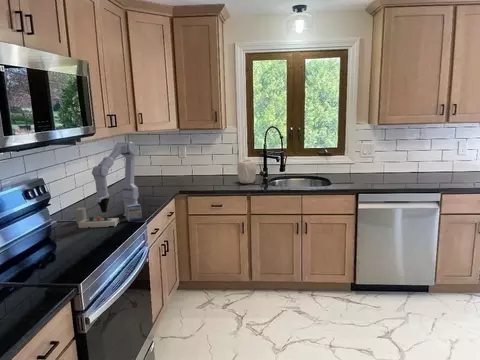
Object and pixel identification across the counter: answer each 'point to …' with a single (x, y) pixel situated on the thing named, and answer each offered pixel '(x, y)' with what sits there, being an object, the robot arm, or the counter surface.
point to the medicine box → (133, 212)
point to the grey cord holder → (80, 214)
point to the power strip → (98, 223)
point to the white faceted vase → (246, 171)
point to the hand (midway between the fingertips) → (104, 212)
